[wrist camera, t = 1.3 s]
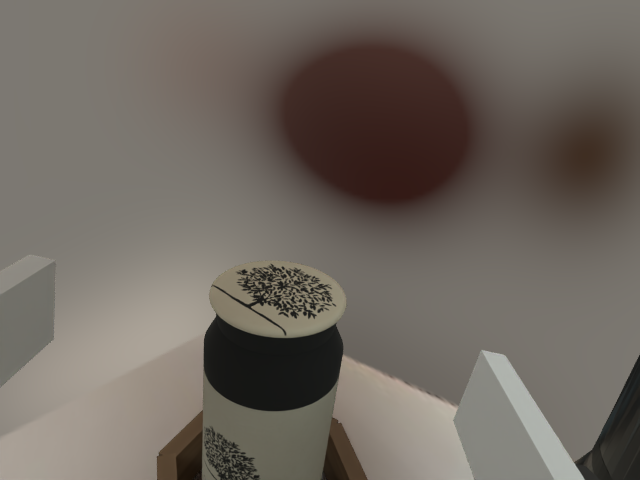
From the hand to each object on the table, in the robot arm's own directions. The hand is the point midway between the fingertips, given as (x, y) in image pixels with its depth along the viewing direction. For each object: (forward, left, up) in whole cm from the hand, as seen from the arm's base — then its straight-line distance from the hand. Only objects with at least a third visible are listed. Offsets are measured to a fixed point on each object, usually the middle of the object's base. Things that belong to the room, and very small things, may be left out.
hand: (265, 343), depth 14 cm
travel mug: (-3, -10, -22) cm, 24 cm away
